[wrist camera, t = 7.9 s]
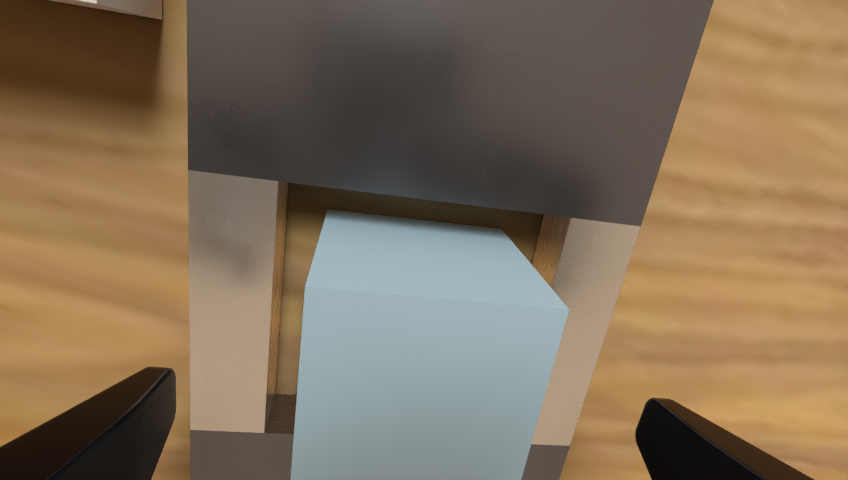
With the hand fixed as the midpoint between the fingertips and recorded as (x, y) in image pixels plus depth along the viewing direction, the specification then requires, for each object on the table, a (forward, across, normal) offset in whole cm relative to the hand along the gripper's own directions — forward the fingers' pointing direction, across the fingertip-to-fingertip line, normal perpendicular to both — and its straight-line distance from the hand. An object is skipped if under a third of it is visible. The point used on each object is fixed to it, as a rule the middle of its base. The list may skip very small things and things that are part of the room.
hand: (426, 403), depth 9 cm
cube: (+4, 0, 0) cm, 4 cm away
